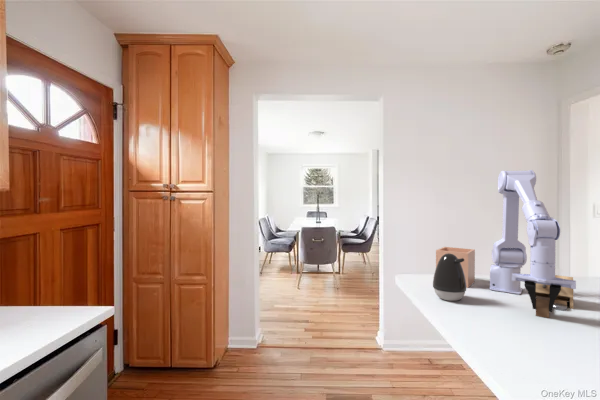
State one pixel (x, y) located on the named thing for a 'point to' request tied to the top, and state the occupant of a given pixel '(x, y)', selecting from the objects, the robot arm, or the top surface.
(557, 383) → the top surface
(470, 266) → the utensil crock
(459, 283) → the black rounded egg shape
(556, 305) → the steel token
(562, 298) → the bread box
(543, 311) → the wooden mallet
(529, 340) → the top surface
